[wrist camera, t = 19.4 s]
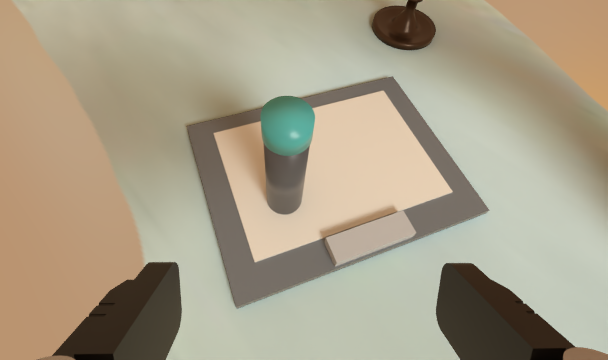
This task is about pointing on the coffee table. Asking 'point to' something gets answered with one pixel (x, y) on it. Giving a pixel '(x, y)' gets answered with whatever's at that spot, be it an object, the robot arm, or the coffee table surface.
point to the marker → (286, 150)
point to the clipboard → (329, 189)
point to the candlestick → (404, 26)
